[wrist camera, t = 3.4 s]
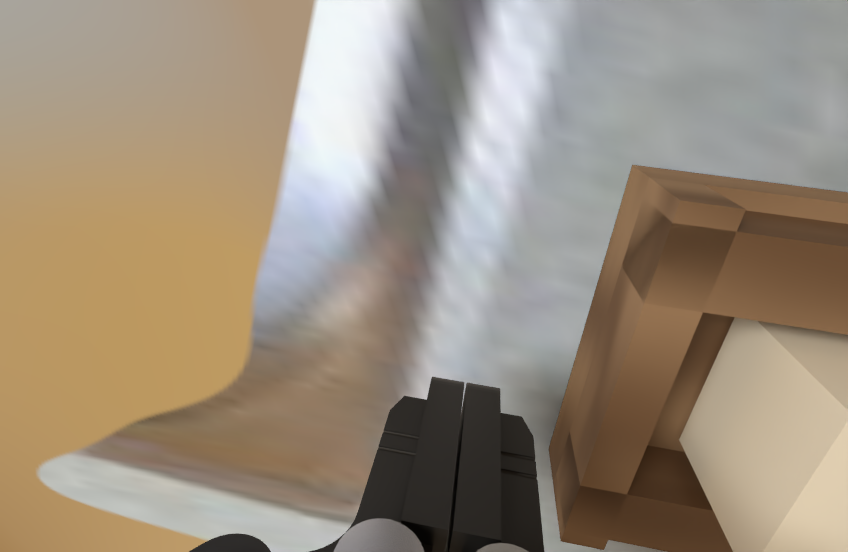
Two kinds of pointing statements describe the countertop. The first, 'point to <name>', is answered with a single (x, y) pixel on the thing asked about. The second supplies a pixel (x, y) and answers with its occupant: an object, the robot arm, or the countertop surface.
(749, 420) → the rider
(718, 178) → the wooden slider track
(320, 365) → the countertop surface
